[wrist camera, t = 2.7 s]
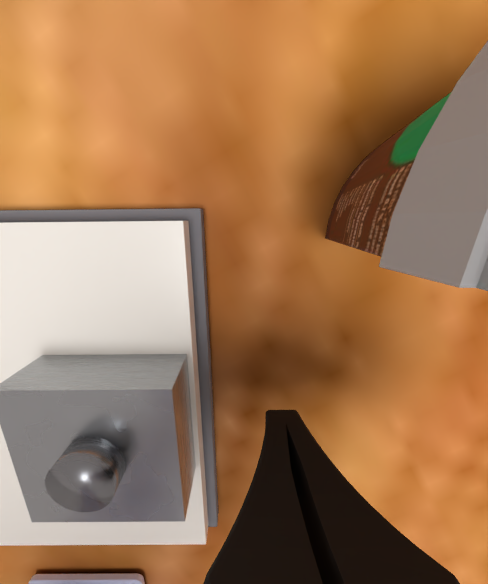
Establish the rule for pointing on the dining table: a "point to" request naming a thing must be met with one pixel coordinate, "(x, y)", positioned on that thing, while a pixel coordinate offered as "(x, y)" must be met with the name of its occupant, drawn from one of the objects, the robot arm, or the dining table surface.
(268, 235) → the dining table surface
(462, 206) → the food container
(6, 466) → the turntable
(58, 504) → the cover
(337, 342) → the dining table surface
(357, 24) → the dining table surface
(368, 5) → the dining table surface
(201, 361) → the susan base
